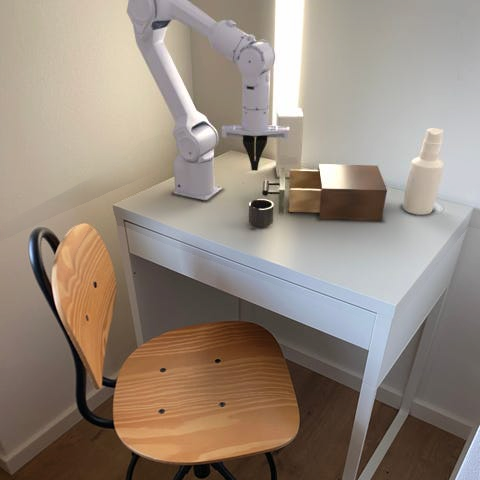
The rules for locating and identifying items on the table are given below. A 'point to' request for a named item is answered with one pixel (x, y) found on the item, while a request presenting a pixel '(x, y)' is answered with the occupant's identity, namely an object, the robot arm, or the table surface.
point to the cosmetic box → (289, 140)
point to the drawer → (298, 190)
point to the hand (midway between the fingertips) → (254, 169)
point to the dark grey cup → (261, 213)
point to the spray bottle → (425, 175)
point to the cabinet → (351, 192)
